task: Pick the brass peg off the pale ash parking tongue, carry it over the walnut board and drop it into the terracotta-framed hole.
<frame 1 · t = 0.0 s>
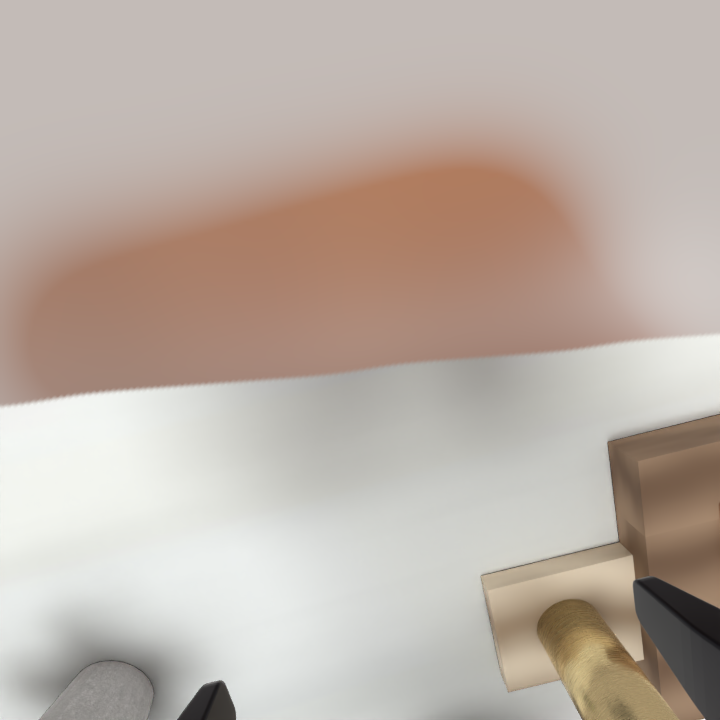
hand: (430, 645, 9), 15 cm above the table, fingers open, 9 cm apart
brass peg: (568, 626, 25), point 1 cm above the table, touching walnut board
house plant: (122, 674, 26), on the table
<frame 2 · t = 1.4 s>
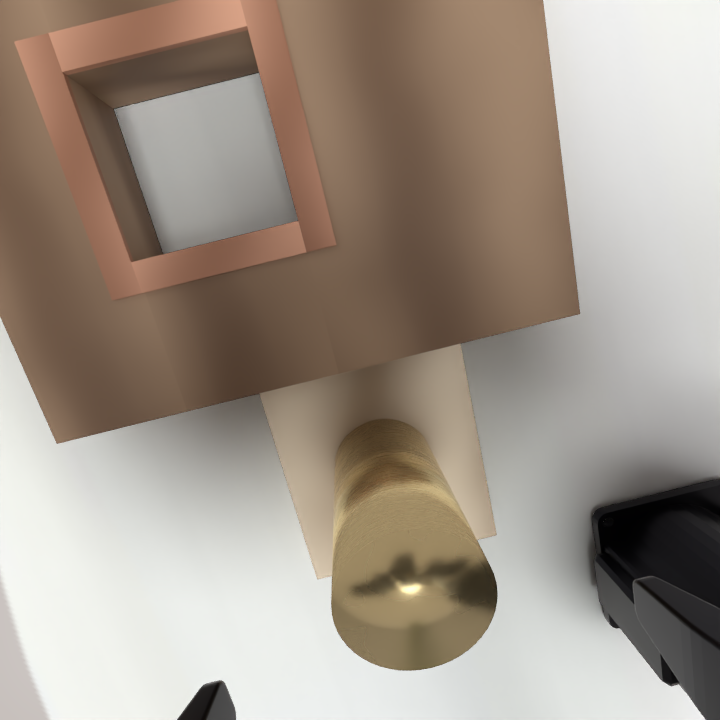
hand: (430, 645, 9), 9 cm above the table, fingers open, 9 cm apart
walnut board: (273, 186, 15), on the table
brass peg: (383, 464, 16), point 1 cm above the table, touching walnut board
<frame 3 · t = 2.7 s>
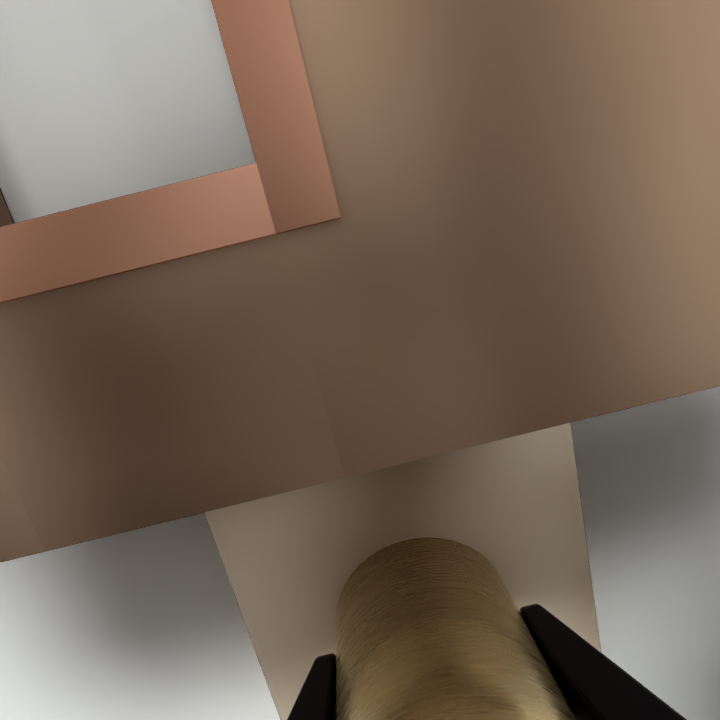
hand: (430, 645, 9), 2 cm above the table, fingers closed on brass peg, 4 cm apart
walnut board: (222, 115, 8), on the table
brass peg: (422, 613, 9), point 1 cm above the table, touching gripper, walnut board
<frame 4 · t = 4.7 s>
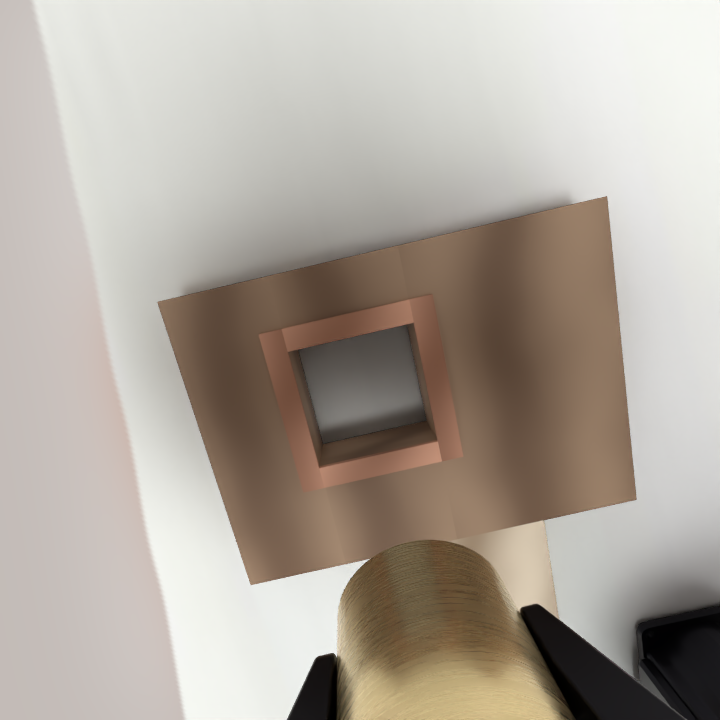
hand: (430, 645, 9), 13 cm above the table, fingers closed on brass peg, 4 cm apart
walnut board: (405, 392, 21), on the table
brass peg: (423, 616, 9), point 12 cm above the table, touching gripper
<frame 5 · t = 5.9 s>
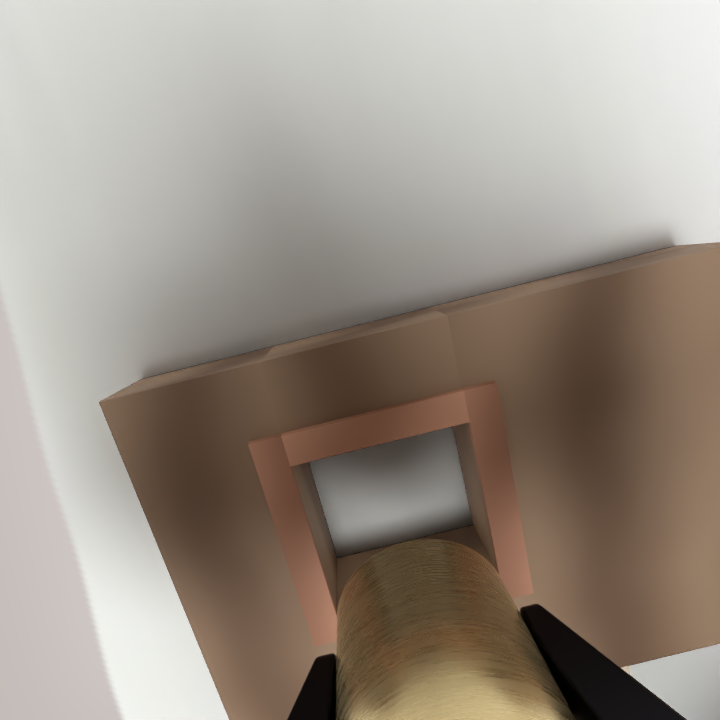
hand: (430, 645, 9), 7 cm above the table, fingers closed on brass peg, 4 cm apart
walnut board: (445, 490, 15), on the table
brass peg: (423, 615, 9), point 6 cm above the table, touching gripper
when the fingers open (4 cm above the table, at t = 6.8 s): brass peg drops 3 cm, resting in walnut board.
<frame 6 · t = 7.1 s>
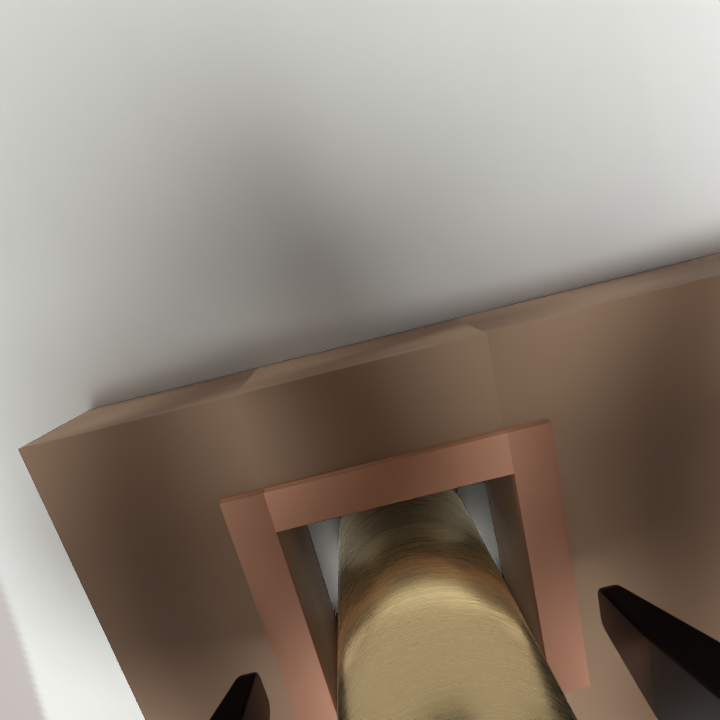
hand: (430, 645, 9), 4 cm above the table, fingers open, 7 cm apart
walnut board: (472, 544, 13), on the table
brass peg: (404, 532, 12), resting in walnut board
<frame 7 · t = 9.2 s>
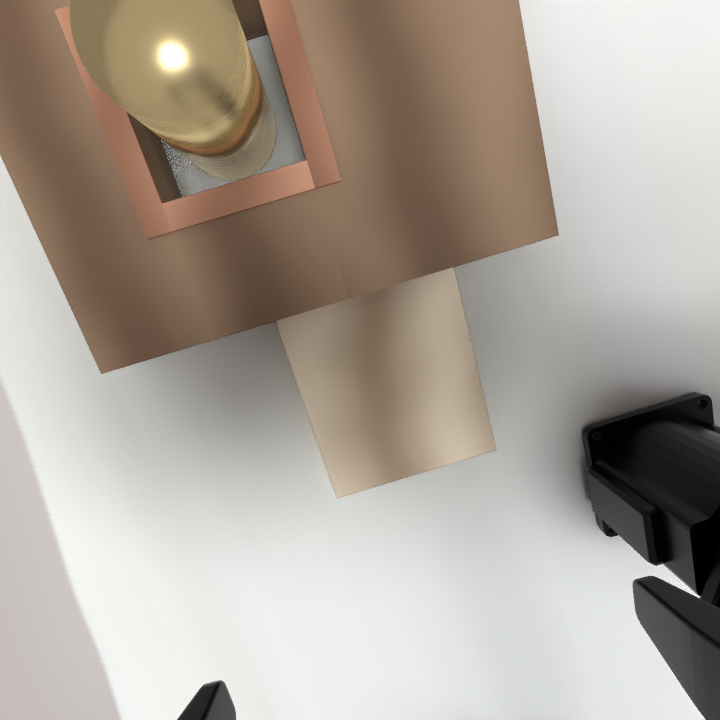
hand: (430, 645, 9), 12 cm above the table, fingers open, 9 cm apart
walnut board: (280, 138, 17), on the table
brass peg: (227, 128, 17), resting in walnut board
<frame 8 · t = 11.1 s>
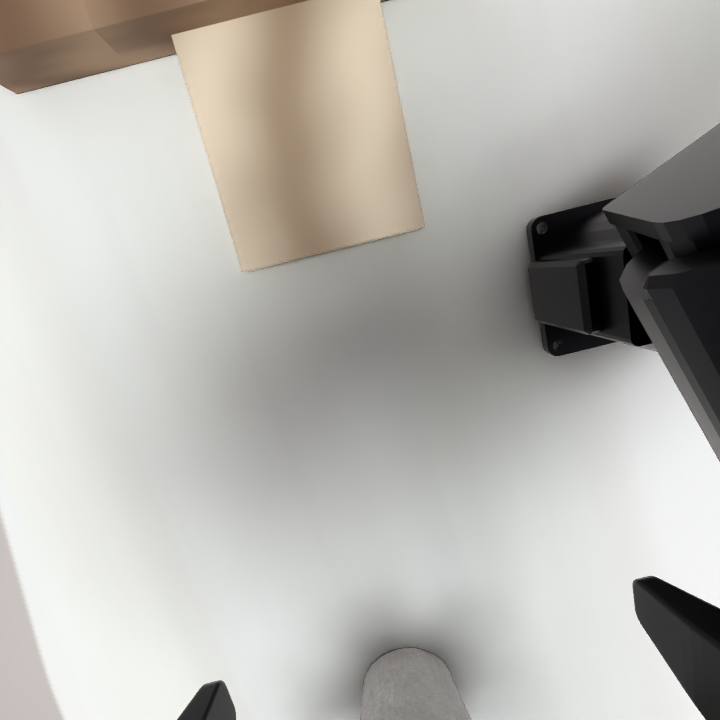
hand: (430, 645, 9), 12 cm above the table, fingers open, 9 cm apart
house plant: (386, 672, 24), on the table
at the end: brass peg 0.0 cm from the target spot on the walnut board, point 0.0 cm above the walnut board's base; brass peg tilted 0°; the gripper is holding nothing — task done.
